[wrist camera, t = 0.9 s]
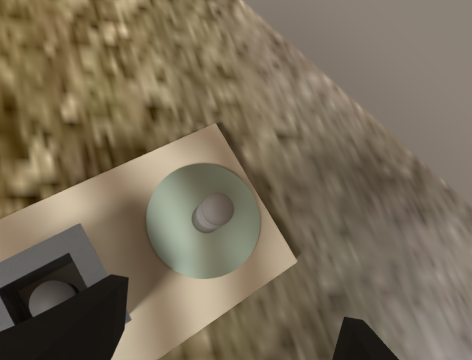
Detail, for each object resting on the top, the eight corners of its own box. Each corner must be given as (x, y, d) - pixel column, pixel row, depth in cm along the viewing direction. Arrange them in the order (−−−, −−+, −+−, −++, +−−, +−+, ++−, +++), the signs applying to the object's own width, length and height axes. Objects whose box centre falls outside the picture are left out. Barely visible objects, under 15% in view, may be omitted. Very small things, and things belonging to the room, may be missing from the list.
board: (33, 442, 20) (6, 491, 15) (-61, 251, 22) (-114, 238, 17) (291, 262, 28) (330, 256, 23) (212, 128, 29) (233, 94, 24)
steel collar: (34, 373, 21) (15, 393, 16) (-11, 283, 21) (-40, 281, 17) (128, 315, 23) (132, 319, 19) (85, 235, 23) (80, 223, 19)
